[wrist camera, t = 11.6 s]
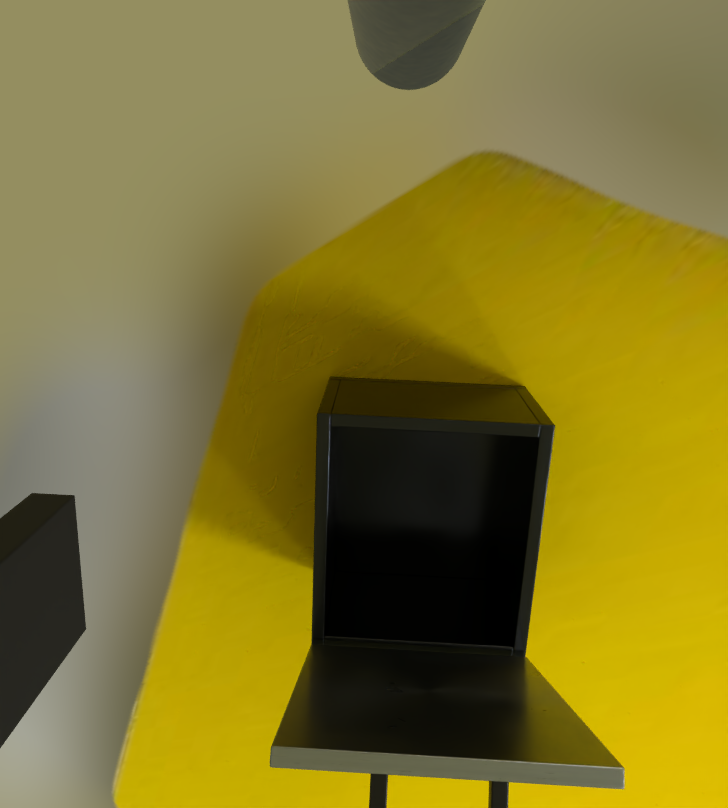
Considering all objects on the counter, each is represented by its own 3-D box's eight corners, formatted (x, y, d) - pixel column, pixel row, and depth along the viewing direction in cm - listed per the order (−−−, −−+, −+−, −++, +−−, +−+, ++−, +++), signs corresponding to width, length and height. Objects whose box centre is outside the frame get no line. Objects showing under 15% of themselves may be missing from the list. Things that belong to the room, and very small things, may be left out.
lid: (271, 746, 26) (258, 937, 25) (625, 767, 26) (624, 961, 25) (311, 644, 42) (304, 757, 42) (526, 656, 42) (524, 771, 41)
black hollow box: (329, 376, 47) (316, 413, 38) (525, 386, 46) (555, 425, 38) (324, 574, 51) (311, 646, 43) (502, 584, 51) (525, 658, 42)
